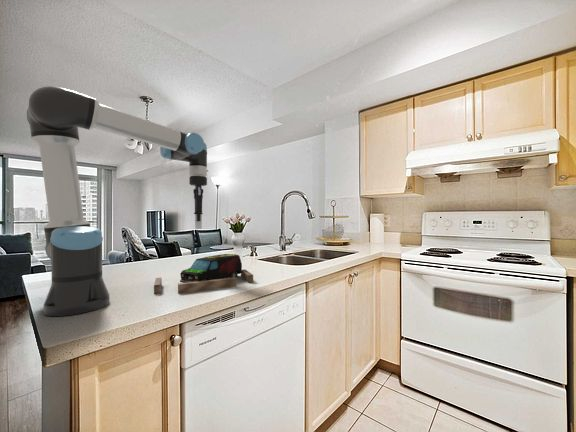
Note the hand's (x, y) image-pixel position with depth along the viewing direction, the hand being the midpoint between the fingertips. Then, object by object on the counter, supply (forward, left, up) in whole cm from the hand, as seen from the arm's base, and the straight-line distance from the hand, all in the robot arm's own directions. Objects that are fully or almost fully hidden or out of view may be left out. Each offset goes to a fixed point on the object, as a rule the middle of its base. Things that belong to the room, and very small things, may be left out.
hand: (198, 228), depth 119 cm
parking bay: (+1, -19, -21) cm, 28 cm away
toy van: (+4, -14, -21) cm, 26 cm away
